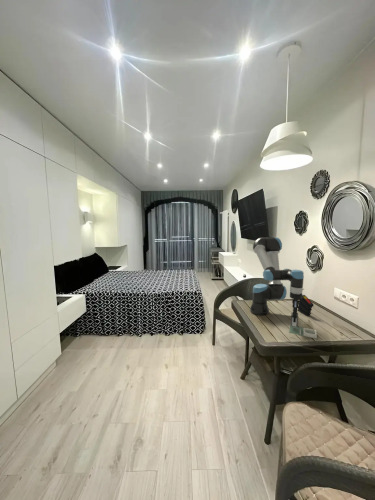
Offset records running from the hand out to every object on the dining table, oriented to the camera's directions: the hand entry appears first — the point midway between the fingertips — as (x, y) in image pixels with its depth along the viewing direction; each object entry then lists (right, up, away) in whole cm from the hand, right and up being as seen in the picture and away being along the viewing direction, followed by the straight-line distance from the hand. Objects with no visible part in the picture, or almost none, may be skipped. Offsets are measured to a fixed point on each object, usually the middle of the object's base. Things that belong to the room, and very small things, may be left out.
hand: (294, 324), depth 140 cm
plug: (0, -1, 0) cm, 1 cm away
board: (+3, -5, -4) cm, 7 cm away
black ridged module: (+23, -1, +26) cm, 35 cm away
